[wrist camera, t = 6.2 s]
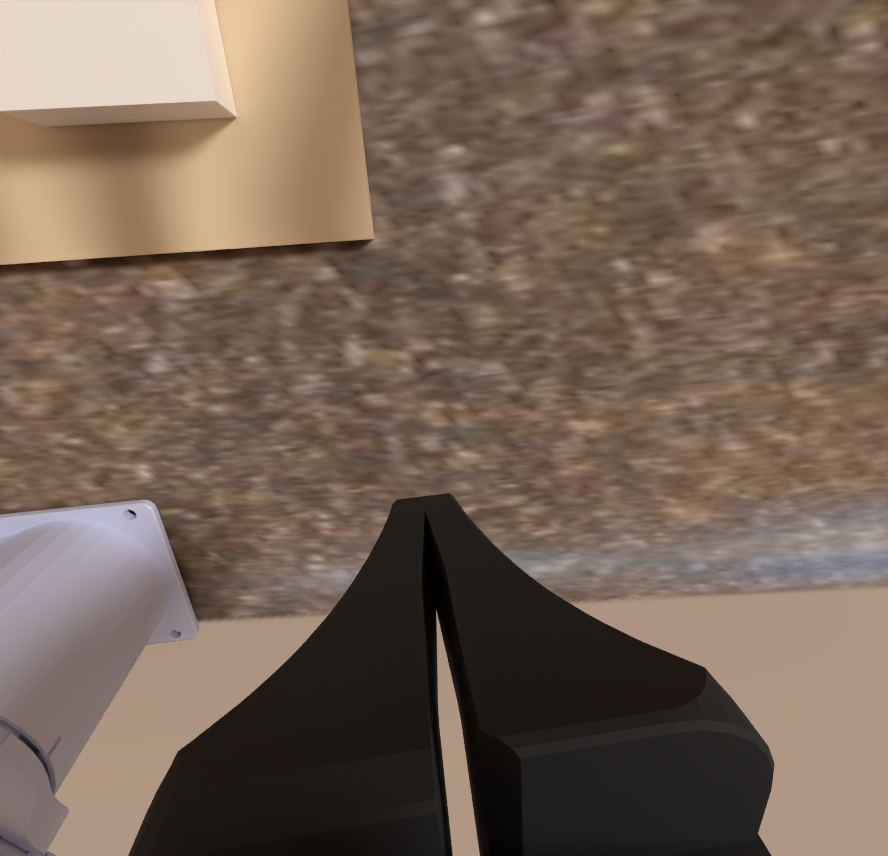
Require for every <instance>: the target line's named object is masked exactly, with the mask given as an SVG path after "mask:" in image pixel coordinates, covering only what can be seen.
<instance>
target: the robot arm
mask: <svg viewBox="0 0 888 856" xmlns="http://www.w3.org/2000/svg"><path fill="white" fill-rule="evenodd" d="M128 510H132V511H134V512H135V513H136V515H133V514H131V513H130V512H129V511H128ZM436 610H437V614H438V619H439V623H440V627H441V632H442V636H443V640H444V645H445V649H446V653H447V657H448V662H449V666H450V670H451V675H452V679H453V684H454V688H455V692H456V697H457V702H458V707H459V712H460V717H461V723H462V730H463V737H464V744H465V751H466V758H467V766H468V773H469V779H470V787H471V794H472V801H473V809H474V815H475V823H476V830H477V837H478V844H479V852H480V856H771V854H770V853H769V851H768V850H767V848H766V846H765V844H764V843H763V841H762V840H761V838H760V837H759V835H758V831H759V827H760V825H761V821H762V818H763V815H764V812H765V808H766V805H767V801H768V799H769V795H770V792H771V787H772V780H773V772H774V761H773V758H772V755H771V752H770V750H769V747H768V745H767V744H766V743H765V741H764V740H763V739H762V737H761V736H760V735H759V733H758V732H757V730H756V729H755V728H754V726H753V725H752V724H751V723H750V721H749V720H748V718H747V717H746V716H745V714H744V713H743V712H742V710H740V708H739V707H738V706H737V704H736V703H735V702H734V701H733V699H732V698H731V697H730V696H729V695H728V693H726V691H725V690H724V689H723V688H722V687H721V686H720V685H719V684H718V682H717V681H716V680H715V679H714V678H713V677H712V676H711V674H710V673H709V672H708V671H707V670H706V668H704V667H702V666H700V665H698V664H695V663H693V662H690V661H688V660H685V659H683V658H680V657H678V656H676V655H673V654H671V653H668V652H666V651H663V650H661V649H658V648H656V647H653V646H651V645H649V644H646V643H644V642H641V641H640V640H637V639H635V638H633V637H631V636H629V635H627V634H625V633H623V632H621V631H619V630H617V629H615V628H613V627H611V626H609V625H607V624H605V623H603V622H601V621H599V620H597V619H596V618H594V617H592V616H590V615H588V614H586V613H585V612H583V611H581V610H580V609H578V608H576V607H575V606H573V605H571V604H570V603H568V602H567V601H565V600H563V599H562V598H560V597H558V596H557V595H555V594H554V593H552V592H551V591H549V590H548V589H546V588H545V587H544V586H542V585H541V584H540V583H538V582H537V581H536V580H534V579H533V578H532V577H530V576H529V575H528V574H526V573H525V572H524V571H523V570H522V569H520V568H519V567H518V566H517V565H516V564H514V563H513V562H512V561H511V560H510V559H509V558H508V557H507V556H506V555H504V554H503V553H502V552H501V551H500V550H499V549H498V548H497V547H496V546H495V545H494V544H493V543H492V542H491V541H490V540H489V539H488V538H487V537H486V536H485V535H484V534H483V533H482V532H481V530H480V529H479V528H478V527H477V526H476V525H475V524H474V523H473V522H472V520H471V519H470V518H469V517H468V515H467V514H466V513H465V512H464V510H463V509H462V508H461V506H460V505H459V504H458V502H457V501H456V499H455V497H454V496H452V495H451V494H450V493H447V494H439V495H431V496H423V497H415V498H407V499H400V500H396V501H395V502H394V504H393V505H392V508H391V511H390V514H389V517H388V519H387V521H386V524H385V526H384V528H383V530H382V532H381V534H380V536H379V538H378V540H377V542H376V544H375V546H374V548H373V550H372V552H371V553H370V555H369V557H368V559H367V560H366V562H365V563H364V565H363V567H362V568H361V570H360V571H359V573H358V575H357V576H356V578H355V579H354V581H353V583H352V584H351V585H350V587H349V588H348V590H347V591H346V593H345V594H344V595H343V597H342V598H341V599H340V601H339V602H338V603H337V605H336V606H335V607H334V608H333V610H332V611H331V612H330V614H329V615H328V616H327V617H326V619H325V620H324V621H323V622H322V623H321V624H320V626H319V627H318V628H317V629H316V630H315V631H314V632H313V633H312V635H311V636H310V637H309V638H308V639H307V641H306V642H305V643H304V644H303V645H302V646H301V647H300V648H299V649H298V650H297V651H296V652H295V653H294V654H293V655H292V656H291V657H290V658H289V659H288V660H287V661H286V662H285V663H284V664H283V665H282V666H281V667H280V668H279V669H278V670H277V671H276V672H275V673H274V674H272V675H271V676H270V677H269V678H268V679H267V680H266V681H265V682H264V683H263V684H261V685H260V686H259V687H258V688H257V689H256V690H255V691H254V692H252V693H251V694H250V695H249V696H248V697H247V698H245V699H244V700H243V701H242V702H241V703H240V704H238V705H237V706H236V707H234V709H232V710H231V711H229V712H228V713H227V714H226V715H224V716H223V717H222V718H221V719H219V720H218V721H217V722H216V723H214V724H213V725H212V726H211V727H209V728H208V729H207V730H206V731H204V732H203V733H202V734H200V735H199V736H198V737H197V738H195V739H194V740H193V741H191V742H190V743H189V744H187V745H186V746H185V747H183V748H182V749H181V750H179V751H178V753H177V754H176V756H175V758H174V760H173V763H172V765H171V767H170V768H169V770H168V772H167V774H166V776H165V778H164V779H163V781H162V783H161V785H160V787H159V789H158V790H157V792H156V794H155V796H154V799H153V801H152V803H151V805H150V807H149V809H148V811H147V813H146V815H145V818H144V820H143V822H142V825H141V827H140V829H139V832H138V834H137V837H136V839H135V841H134V844H133V846H132V848H131V851H130V853H129V856H453V855H452V845H451V836H450V826H449V816H448V807H447V798H446V788H445V778H444V768H443V759H442V749H441V739H440V730H439V716H438V692H437V690H438V688H437V632H436ZM175 630H178V631H180V632H177V631H175ZM198 630H199V625H198V622H197V619H196V617H195V614H194V611H193V608H192V605H191V602H190V600H189V597H188V594H187V591H186V588H185V585H184V583H183V580H182V577H181V574H180V571H179V568H178V566H177V563H176V560H175V557H174V554H173V552H172V549H171V546H170V543H169V540H168V537H167V535H166V532H165V529H164V526H163V523H162V520H161V518H160V515H159V512H158V509H157V507H156V505H155V504H154V503H152V502H151V501H148V500H134V501H125V502H115V503H106V504H96V505H87V506H77V507H68V508H58V509H49V510H39V511H30V512H20V513H11V514H1V515H0V856H56V855H54V854H53V853H51V852H49V851H47V850H48V848H49V846H50V845H51V843H52V841H53V839H54V837H55V836H56V834H57V832H58V830H59V829H60V827H61V825H62V823H63V821H64V820H65V818H66V816H67V814H68V813H69V809H68V808H67V807H66V806H64V805H63V804H61V803H60V802H59V801H58V800H57V799H56V798H55V796H54V795H55V794H56V792H57V790H58V789H59V787H60V785H61V784H62V782H63V780H64V779H65V777H66V775H67V774H68V772H69V770H70V769H71V767H72V766H73V764H74V762H75V761H76V759H77V757H78V756H79V754H80V753H81V751H82V749H83V748H84V746H85V744H86V743H87V741H88V739H89V738H90V736H91V734H92V733H93V731H94V729H95V728H96V726H97V725H98V723H99V721H100V720H101V718H102V716H103V715H104V713H105V711H106V710H107V708H108V706H109V705H110V703H111V701H112V700H113V698H114V696H115V695H116V693H117V691H118V690H119V688H120V687H121V685H122V683H123V682H124V680H125V678H126V677H127V675H128V673H129V672H130V670H131V668H132V667H133V665H134V663H135V662H136V660H137V659H138V657H139V655H140V653H141V652H142V650H143V649H144V647H145V645H147V644H156V643H164V642H172V641H180V640H187V639H192V638H194V637H195V636H196V634H197V632H198Z"/></svg>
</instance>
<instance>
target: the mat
mask: <svg viewBox="0 0 888 856" xmlns="http://www.w3.org/2000/svg"><path fill="white" fill-rule="evenodd" d="M214 3H215V8H216V13H217V18H218V23H219V28H220V33H221V38H222V43H223V48H224V53H225V58H226V63H227V68H228V73H229V78H230V83H231V88H232V93H233V98H234V103H235V108H236V113H237V117H231V118H211V119H191V120H171V121H151V122H131V123H111V124H91V125H71V126H51V127H46V126H43V125H40V124H37V123H33V122H30V121H27V120H24V119H21V118H18V117H15V116H12V115H9V114H5V113H2V112H0V265H6V264H20V263H35V262H49V261H63V260H78V259H92V258H107V257H121V256H135V255H150V254H164V253H178V252H193V251H207V250H221V249H236V248H250V247H265V246H279V245H293V244H308V243H322V242H336V241H351V240H365V239H375V238H374V229H373V220H372V211H371V203H370V194H369V185H368V176H367V167H366V158H365V149H364V141H363V132H362V123H361V114H360V105H359V96H358V88H357V79H356V70H355V61H354V52H353V43H352V34H351V26H350V17H349V8H348V0H214Z"/></svg>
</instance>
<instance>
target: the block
mask: <svg viewBox="0 0 888 856" xmlns="http://www.w3.org/2000/svg"><path fill="white" fill-rule="evenodd" d="M0 112H2V113H5V114H9V115H12V116H15V117H18V118H21V119H24V120H27V121H30V122H33V123H37V124H40V125H43V126H46V127H51V126H71V125H91V124H111V123H131V122H151V121H171V120H191V119H211V118H231V117H237V113H236V108H235V103H234V98H233V93H232V88H231V83H230V78H229V73H228V68H227V63H226V58H225V53H224V48H223V43H222V38H221V33H220V28H219V23H218V18H217V13H216V8H215V3H214V0H0Z"/></svg>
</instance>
